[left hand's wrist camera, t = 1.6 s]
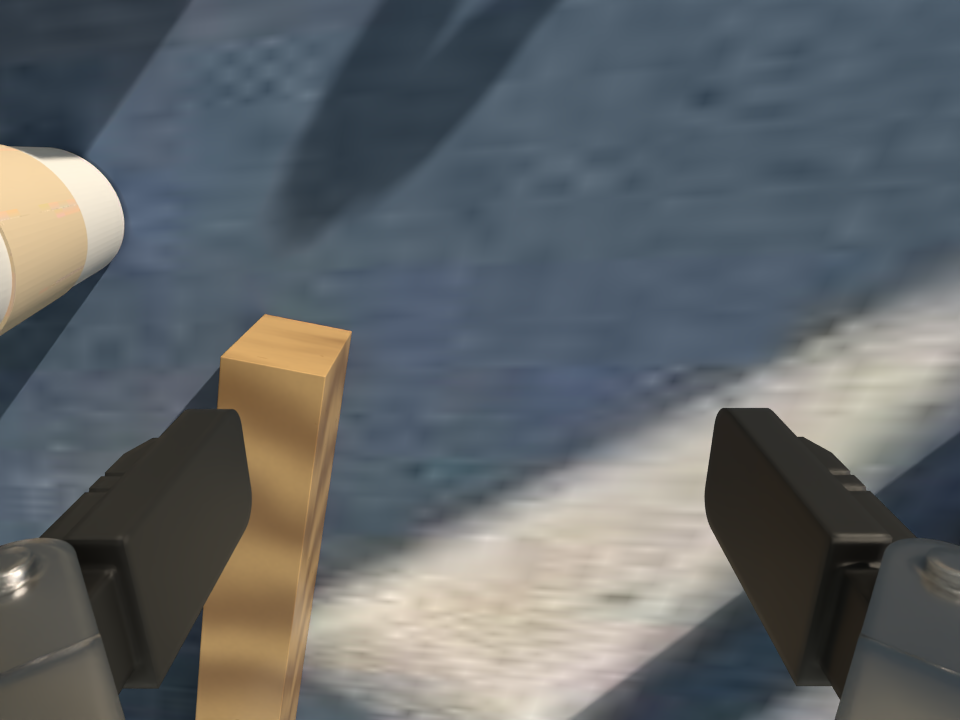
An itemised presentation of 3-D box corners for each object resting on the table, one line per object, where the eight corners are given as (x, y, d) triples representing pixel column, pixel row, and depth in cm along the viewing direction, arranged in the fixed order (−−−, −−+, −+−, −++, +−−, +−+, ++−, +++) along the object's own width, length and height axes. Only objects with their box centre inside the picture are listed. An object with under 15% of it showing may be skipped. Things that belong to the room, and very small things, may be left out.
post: (264, 313, 36) (220, 356, 30) (351, 330, 37) (325, 376, 31) (209, 900, 55) (175, 999, 49) (267, 908, 56) (241, 1007, 50)
